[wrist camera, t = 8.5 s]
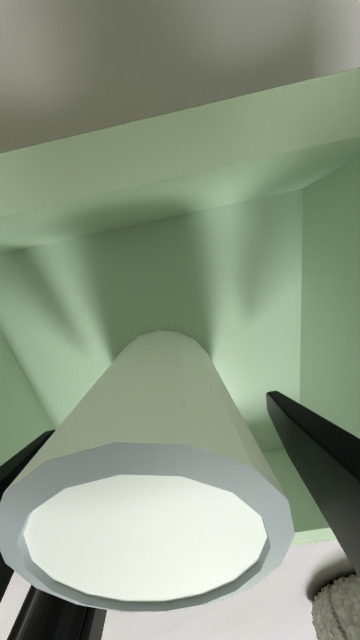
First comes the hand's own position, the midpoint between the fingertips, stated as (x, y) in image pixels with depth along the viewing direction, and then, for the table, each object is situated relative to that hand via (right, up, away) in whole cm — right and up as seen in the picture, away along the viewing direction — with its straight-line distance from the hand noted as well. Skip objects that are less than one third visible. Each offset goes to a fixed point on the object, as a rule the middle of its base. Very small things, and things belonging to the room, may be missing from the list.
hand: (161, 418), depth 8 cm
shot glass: (0, +1, +3) cm, 4 cm away
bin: (0, +1, +4) cm, 4 cm away
